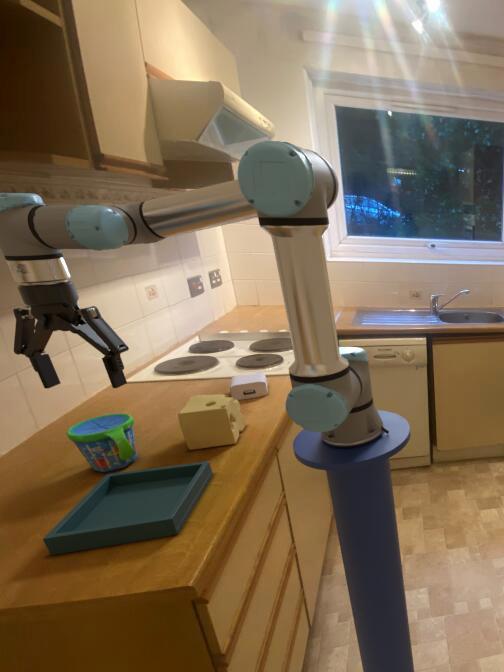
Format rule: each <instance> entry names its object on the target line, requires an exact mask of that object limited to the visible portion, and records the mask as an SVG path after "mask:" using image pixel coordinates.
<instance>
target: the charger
mask: <svg viewBox="0 0 504 672" xmlns="http://www.w3.org/2000/svg"><path fill="white" fill-rule="evenodd" d="M229 392H230V396H231V398H233V399H234V400H237V401H242V400H247V399H253V398H260V397H264V396H267V395H268V393H269V392H268V380H267V375H266V373H265V372H262V371H261V372H260V371H259V372H252V373H245V374H238V375H234V376H232V377H231V380H230V385H229Z"/></svg>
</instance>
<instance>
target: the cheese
mask: <svg viewBox="0 0 504 672" xmlns="http://www.w3.org/2000/svg"><path fill="white" fill-rule="evenodd" d="M177 416H178V422H179V426H180V430H181V432H182V435H183V439H184V442H185V443H186V445H187V448H188V450H189V451H192V450H200V449H208V448H214V447H220V446H221V447H222V446H229V445H235V444H237V441H238V439H239V438H240V433H242V432H243V430H244V429H245V427H246V425H247V424H246V418H245V415H244V414H243V413H241V404H240V402H239V400H234V399H233V398H232V397H229V396H228V395H226V394H221V393H220V394H219V393H218V394H197V395H192V396H191V395H190V397H189V399H188V401H187V403H186V404H185V405H184V406H183V407H182V409H181V410H180V411H179V412H178V413H177Z"/></svg>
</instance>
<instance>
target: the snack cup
mask: <svg viewBox="0 0 504 672" xmlns="http://www.w3.org/2000/svg"><path fill="white" fill-rule="evenodd" d="M134 423H135V419H134V418H133V416H132V415H131V414H129V413H110V414H103V415H99V416H94V417H91V418H88V419H85V420H83V421H80V422H77V423H76V424H74V425H72V426H71V427H69V428H68V430H67V431H66V436H67V437H68V439H69V440H70V441H71V442H73V443H74V444H75V446H76V447H77V449H78V450H79V452H80V453H81V454H82V456H83V457H84V458H85V460H86V462H87V463H88V464H89V465H90V466H91V468H92V470H94V471H96V472H100V473H106V472H113V471H116V470H121V469H123V468H126V467H127V466H129V465H131V464H132V463H134V462H135V461H136V459H138V450H137V444H136V439H135V433H134V428H133V427H134Z"/></svg>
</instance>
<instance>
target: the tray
mask: <svg viewBox="0 0 504 672" xmlns="http://www.w3.org/2000/svg"><path fill="white" fill-rule="evenodd" d="M213 476H214V472H213V470H212V467H211V463H210V461H209V460H208V461H207V460H206V461H197V462H191V463H183V464H176V465H167V466H159V467H152V468H144V469H137V470H130V471H121V472H114V473H107V474H105V475H104V476H103V477H102V479H100V480H99V481H98V482H97V483H96V484H95V486H94V487H92V489H91V490H90V491H89V492H87V493H86V495H85V496H84V497H83V498H81V500H80V501H78V503H77V504H76V505H75V506H74V507H73V508H72V509H71V510H70V511H69V512H68V513H67V514H66V515H65V516H64V517H62V519H61V520H60V521H59V522H58V523H57V524H56V525H55V526H54V527H53V528H52V529H51V530H50V531H49V532H48V533H47V534H46V535H45V536H44V537H43V538H42V541H43V542H44V545H45V546H46V549H47V550H48V553H49V554H50V556H57V555H63V554H68V553H75V552H81V551H86V550H92V549H99V548H105V547H110V546H117V545H123V544H128V543H135V542H141V541H148V540H152V539H159V538H164V537H165V538H166V537H171V536H177V535H178V534H179V533H180V532H181V530H182V528H183V526H184V524H185V523H186V521H187V520H188V517H189V516H190V514H191V512H192V511H193V509H194V508H195V507H196V504H197V502H198V501H199V499H200V498H201V496H202V494H203V493H204V491H205V489H206V487H207V486H208V484H209V482H210V481H211V480H212V478H213Z"/></svg>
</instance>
